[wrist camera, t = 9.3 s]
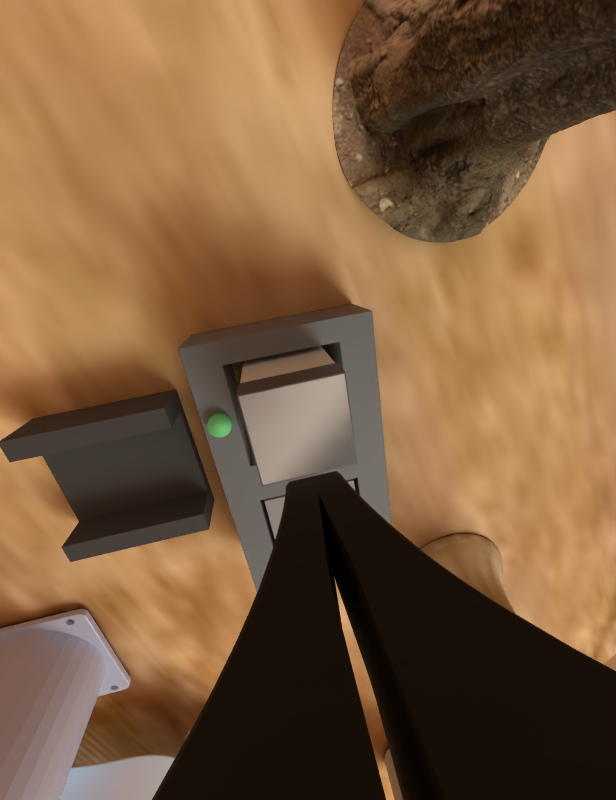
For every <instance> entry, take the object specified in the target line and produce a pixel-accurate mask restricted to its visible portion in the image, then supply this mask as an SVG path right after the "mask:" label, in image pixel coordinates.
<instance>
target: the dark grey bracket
mask: <svg viewBox="0 0 616 800" xmlns="http://www.w3.org/2000/svg"><path fill="white" fill-rule="evenodd" d="M0 447H1V449H2V450H3V452H4V454H5V455H6V457H7V459H8V460H9V462H14V461H18V460H23V459H28V458H32V457H37V456H43V457H44V459H45V461H46V463H47V465H48V466H49V468H50V470H51V472H52V474H53V475H54V477H55V479H56V481H57V483H58V484H59V486H60V488H61V490H62V491H63V493H64V495H65V497H66V499H67V500H68V502H69V504H70V506H71V508H72V509H73V511H74V513H75V515H76V516H77V518H78V520H79V523H78V524H77V526H76V527H75V529H74V530H73V532H72V533H71V534H70V536H69V537H68V539H67V540H66V542H65V543H64V544H63V546H62V549H63V550H64V552H65V554H66V555H67V557H68V559H69V560H70V562H72V561H76V560H81V559H85V558H89V557H93V556H98V555H102V554H106V553H110V552H114V551H119V550H123V549H127V548H131V547H136V546H140V545H144V544H148V543H153V542H157V541H161V540H165V539H170V538H174V537H178V536H182V535H186V534H191V533H195V532H199V531H203V530H208V529H209V526H210V521H211V515H212V509H213V504H214V497H213V495H212V492H211V489H210V486H209V483H208V480H207V477H206V474H205V471H204V468H203V466H202V463H201V460H200V457H199V454H198V451H197V448H196V445H195V442H194V439H193V437H192V434H191V431H190V428H189V425H188V422H187V419H186V416H185V413H184V410H183V408H182V405H181V402H180V399H179V396H178V393H177V390H172V391H167V392H162V393H157V394H152V395H147V396H143V397H138V398H133V399H128V400H123V401H118V402H113V403H108V404H103V405H99V406H94V407H89V408H84V409H79V410H74V411H69V412H64V413H59V414H55V415H50V416H45V417H40V418H35V419H32V420H30V421H29V422H28V423H26V424H25V425H23V426H22V427H20V428H19V429H17V430H16V431H14V432H13V433H11V434H10V435H8V436H7V437H5V438H4V439H2V440H1V441H0Z"/></svg>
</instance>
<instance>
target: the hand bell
mask: <svg viewBox="0 0 616 800" xmlns="http://www.w3.org/2000/svg"><path fill="white" fill-rule="evenodd" d="M421 550H422V551H423V552H424V553H426V554H427V555H428V556H430V557H431V558H432V559H434V560H435V561H436V562H438V563H439V564H440V565H442V566H443V567H444V568H446V569H447V570H449V571H450V572H452V573H453V574H454V575H456V576H457V577H459V578H460V579H462V580H463V581H464V582H466V583H467V584H469V585H470V586H472V587H473V588H475V589H476V590H478V591H479V592H481V593H483V594H484V595H486V596H487V597H489V598H490V599H492V600H493V601H495V602H496V603H498V604H499V605H501V606H503V607H504V608H506V609H508V610H509V611H511V612H513V613H514V614H515V612H514V610H513V608H512V606H511V605H510V603H509V601H508V599H507V596H506V594H505V591H504V589H503V585H502V576H503V561H502V557H501V554H500V552H499V550H498V548H497V547H496V545H495V544H494V543H492V542H491V541H490V540H488V539H486V538H484V537H482V536H479V535H474V534H469V533H463V534H454V535H450V536H446V537H442V538H440V539H437V540H435V541H433V542H431V543H429V544H427V545H425V546H424V547H422V548H421Z"/></svg>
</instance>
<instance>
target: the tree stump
mask: <svg viewBox="0 0 616 800" xmlns="http://www.w3.org/2000/svg"><path fill="white" fill-rule="evenodd" d="M615 110H616V0H365V2H364V3H363V5H362V7H361V9H360V10H359V12H358V14H357V16H356V18H355V20H354V22H353V24H352V26H351V28H350V30H349V33H348V35H347V38H346V40H345V43H344V46H343V49H342V52H341V56H340V59H339V63H338V68H337V72H336V78H335V84H334V93H333V129H334V131H335V133H334V139H335V144H336V149H337V153H338V157H339V160H340V163H341V166H342V169H343V171H344V174H345V176H346V178H347V180H348V182H349V183H350V185H351V187H352V188H353V189H355V190H356V191H357V193H358V194H359V195H360V196H361V198H362V199H363V201H364V202H365V203H366V204H367V206H368V207H369V208H370V209H371V210H372V211H373V212H374V213H376V214H377V215H378V216H379V217H381V218H382V219H383V220H385V221H386V222H387V223H388V224H389V225H390V226H391V227H392V228H393V229H395V230H397V231H399V232H400V233H402V234H404V235H406V236H408V237H410V238H413V239H417V240H421V241H426V242H454V241H456V240H461V239H465V238H469V237H472V236H475V235H478V234H479V233H481V231H482V229H483V228H484V227H486V226H487V225H489V224H490V223H491V222H492V221H494V220H495V219H496V218H497V217H498V216H500V215H501V214H502V213H503V212H504V211H505V210H506V209H507V208H508V207H509V206H510V205H511V203H512V202H513V201H514V199H515V198H516V197H517V195H518V194H519V193H520V191H521V190H522V189H523V187H524V186H525V184H526V183H527V181H528V180H529V178H530V176H531V174H532V172H533V171H534V169H535V167H536V164H537V162H538V161H539V158H540V156H541V153H542V151H543V148H544V146H545V144H546V142H547V140H548V139H549V137H550V135H552V134H554V133H557V132H559V131H561V130H564V129H567V128H569V127H571V126H574V125H577V124H580V123H582V122H583V121H585V120H588V119H590V118H593V117H596V116H598V115H601V114H606V113H609V112H612V111H615Z"/></svg>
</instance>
